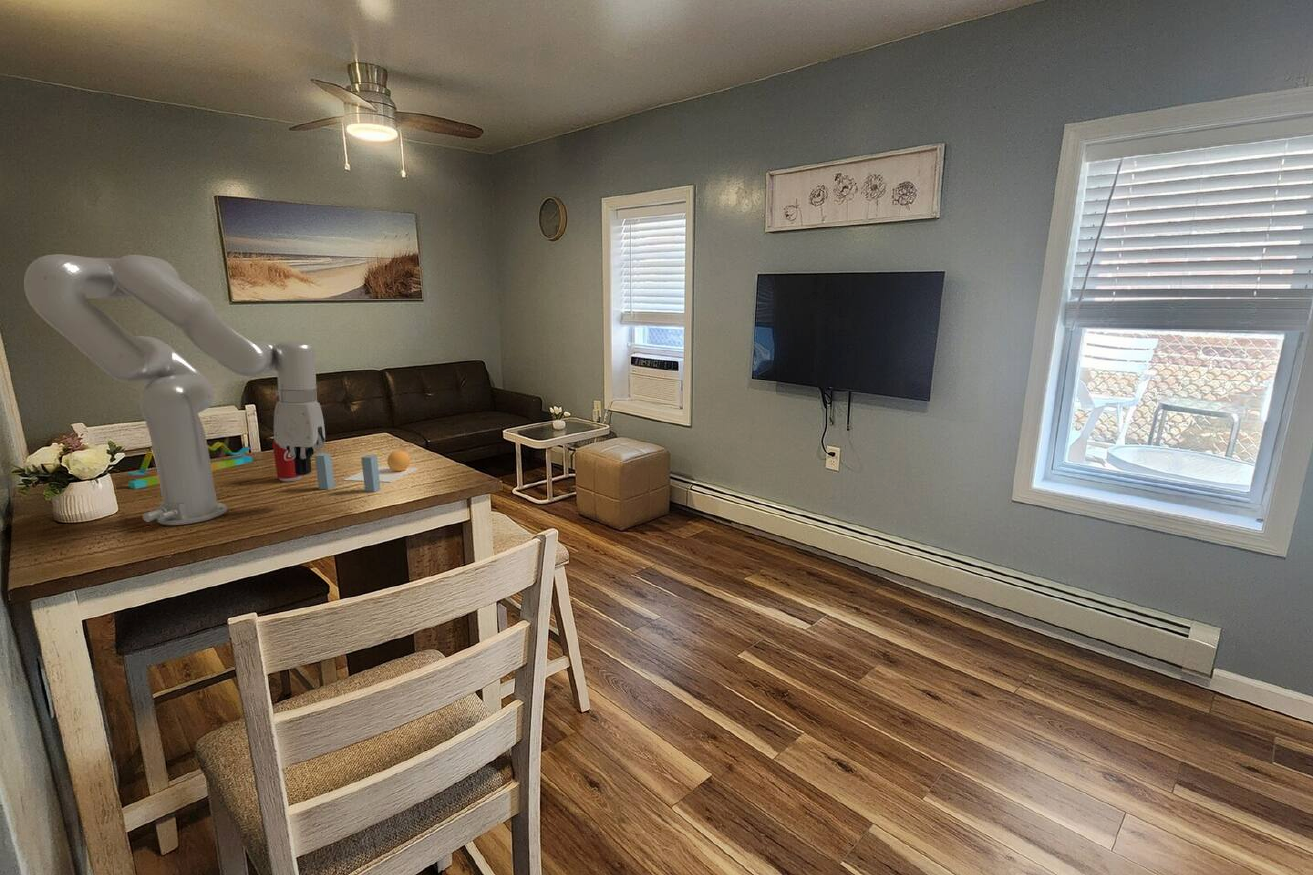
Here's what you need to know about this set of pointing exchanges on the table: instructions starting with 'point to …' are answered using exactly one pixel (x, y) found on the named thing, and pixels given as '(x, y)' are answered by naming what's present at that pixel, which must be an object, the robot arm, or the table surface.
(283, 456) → the beverage can
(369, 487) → the right post
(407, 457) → the ball
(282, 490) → the table surface
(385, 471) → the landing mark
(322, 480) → the left post
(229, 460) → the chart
